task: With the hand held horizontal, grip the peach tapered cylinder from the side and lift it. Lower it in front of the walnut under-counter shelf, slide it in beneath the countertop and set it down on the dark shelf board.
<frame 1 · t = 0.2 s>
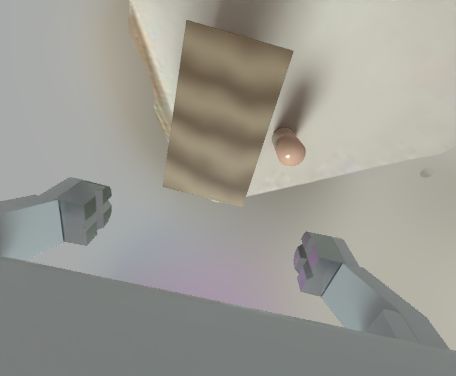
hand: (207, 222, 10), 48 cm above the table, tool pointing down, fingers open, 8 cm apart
peach tapered cylinder: (283, 138, 55), on the table
under counter shelf: (229, 110, 54), on the table
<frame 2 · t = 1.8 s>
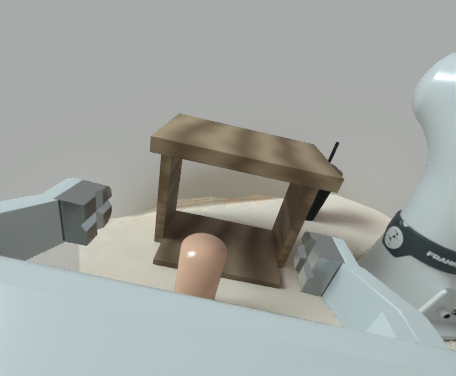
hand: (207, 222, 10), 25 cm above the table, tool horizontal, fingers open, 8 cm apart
peach tapered cylinder: (190, 313, 32), on the table
under counter shelf: (220, 246, 44), on the table
drinking cup: (304, 215, 61), on the table
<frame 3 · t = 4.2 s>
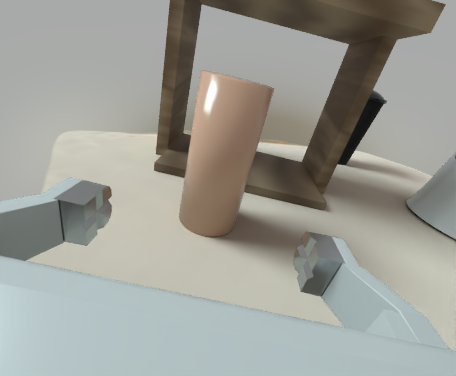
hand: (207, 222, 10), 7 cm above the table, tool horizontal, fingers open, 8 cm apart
peach tapered cylinder: (207, 217, 22), on the table
under counter shelf: (241, 168, 34), on the table
drinking cup: (334, 161, 51), on the table
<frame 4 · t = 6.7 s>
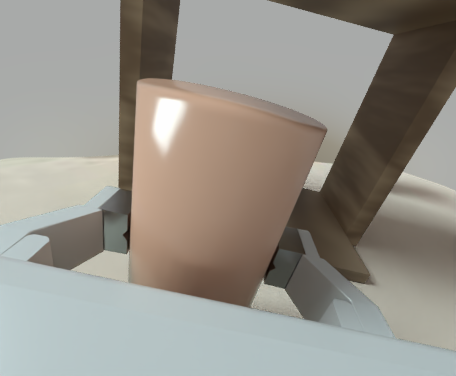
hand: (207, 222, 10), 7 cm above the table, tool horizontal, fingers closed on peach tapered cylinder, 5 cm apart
peach tapered cylinder: (179, 339, 12), on the table, touching gripper
under counter shelf: (240, 208, 25), on the table
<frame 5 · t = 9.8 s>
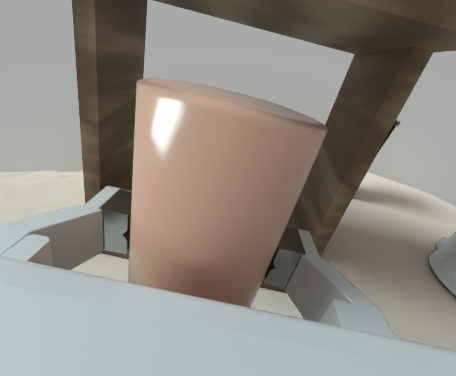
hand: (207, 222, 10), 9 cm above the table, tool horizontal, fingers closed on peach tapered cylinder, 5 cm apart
peach tapered cylinder: (179, 339, 12), point 2 cm above the table, touching gripper
under counter shelf: (207, 222, 25), on the table
when the fingers open (9 cm above the table, at t = 13.0 s): peach tapered cylinder stays where it is, resting on under counter shelf.
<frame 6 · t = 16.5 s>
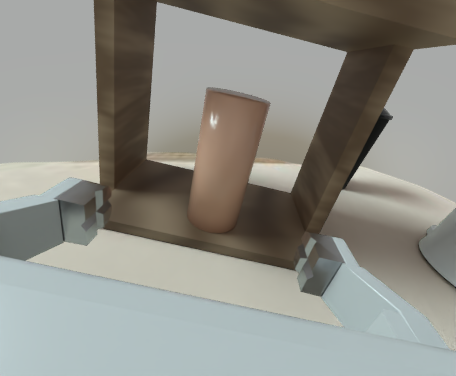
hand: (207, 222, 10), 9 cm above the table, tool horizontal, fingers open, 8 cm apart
peach tapered cylinder: (212, 216, 24), point 1 cm above the table, touching under counter shelf
under counter shelf: (212, 208, 27), on the table
drinking cup: (331, 183, 44), on the table
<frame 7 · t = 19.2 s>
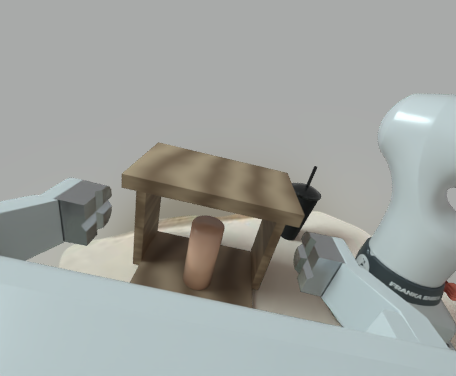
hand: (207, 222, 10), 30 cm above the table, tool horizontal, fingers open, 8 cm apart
peach tapered cylinder: (197, 277, 43), point 1 cm above the table, touching under counter shelf
under counter shelf: (198, 268, 46), on the table
drinking cup: (286, 234, 63), on the table
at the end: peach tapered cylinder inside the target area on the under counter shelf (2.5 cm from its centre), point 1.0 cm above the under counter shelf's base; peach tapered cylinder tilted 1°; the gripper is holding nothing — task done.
